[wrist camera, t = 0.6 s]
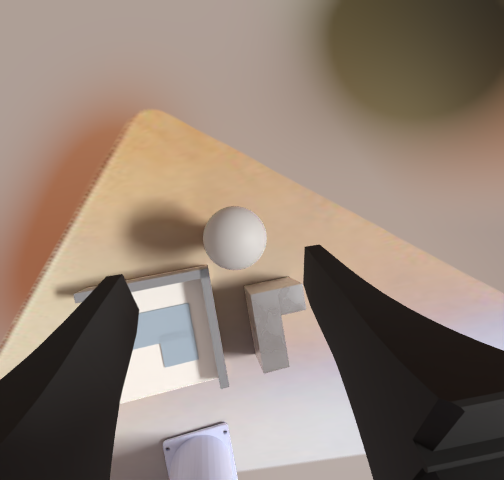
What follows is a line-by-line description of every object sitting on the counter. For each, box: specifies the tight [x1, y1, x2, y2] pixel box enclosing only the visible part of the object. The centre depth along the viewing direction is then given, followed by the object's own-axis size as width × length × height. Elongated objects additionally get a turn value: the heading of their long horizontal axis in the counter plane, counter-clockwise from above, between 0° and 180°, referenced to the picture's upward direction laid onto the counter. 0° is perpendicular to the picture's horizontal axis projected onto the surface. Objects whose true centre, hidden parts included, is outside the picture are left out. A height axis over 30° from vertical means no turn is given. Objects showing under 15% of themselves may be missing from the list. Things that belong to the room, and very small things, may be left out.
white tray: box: [74, 265, 229, 404], centre depth 32 cm, size 14×14×3 cm
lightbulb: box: [203, 206, 267, 270], centre depth 29 cm, size 6×6×11 cm
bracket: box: [244, 277, 306, 373], centre depth 34 cm, size 9×6×5 cm, turn 9°
